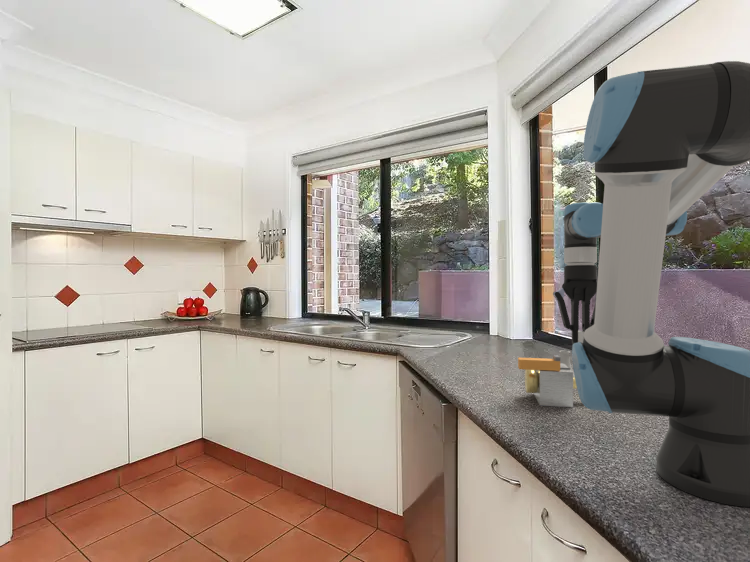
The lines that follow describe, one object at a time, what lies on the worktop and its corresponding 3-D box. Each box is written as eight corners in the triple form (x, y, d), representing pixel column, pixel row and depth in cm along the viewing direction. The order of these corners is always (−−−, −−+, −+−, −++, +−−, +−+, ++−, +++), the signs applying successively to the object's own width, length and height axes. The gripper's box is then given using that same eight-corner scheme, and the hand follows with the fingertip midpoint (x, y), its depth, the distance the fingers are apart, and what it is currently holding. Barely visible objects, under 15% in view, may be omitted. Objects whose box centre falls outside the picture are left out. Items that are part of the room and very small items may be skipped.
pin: (593, 399, 105) (593, 374, 105) (527, 395, 109) (528, 371, 109) (586, 392, 112) (586, 368, 111) (524, 388, 115) (524, 366, 115)
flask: (580, 387, 122) (580, 354, 122) (554, 386, 124) (554, 353, 124) (574, 381, 129) (574, 349, 129) (549, 380, 131) (549, 348, 131)
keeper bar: (560, 370, 105) (560, 357, 105) (519, 369, 108) (519, 355, 107) (557, 368, 108) (557, 355, 108) (518, 366, 110) (518, 353, 110)
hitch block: (573, 407, 105) (573, 371, 105) (539, 405, 107) (539, 369, 106) (564, 395, 115) (564, 362, 114) (533, 393, 116) (533, 361, 116)
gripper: (603, 264, 107) (603, 355, 107) (550, 265, 110) (550, 353, 110) (613, 263, 100) (613, 360, 100) (556, 264, 103) (556, 358, 103)
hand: (580, 356), depth 105 cm, fingers closed
